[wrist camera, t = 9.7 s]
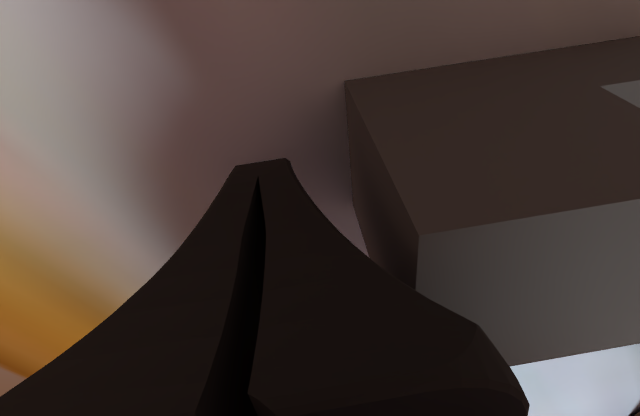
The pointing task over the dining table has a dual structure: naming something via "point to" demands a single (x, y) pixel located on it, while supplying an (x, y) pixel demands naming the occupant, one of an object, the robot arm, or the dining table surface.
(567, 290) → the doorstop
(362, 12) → the dining table surface
